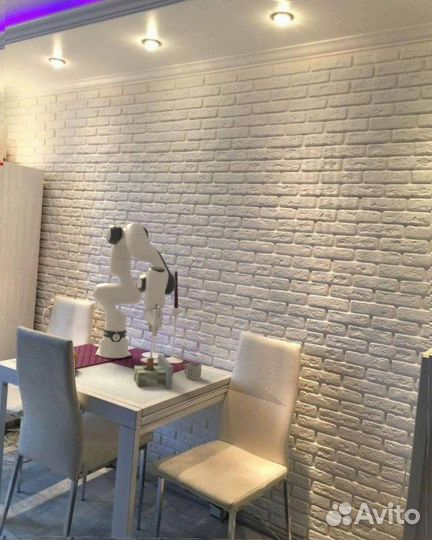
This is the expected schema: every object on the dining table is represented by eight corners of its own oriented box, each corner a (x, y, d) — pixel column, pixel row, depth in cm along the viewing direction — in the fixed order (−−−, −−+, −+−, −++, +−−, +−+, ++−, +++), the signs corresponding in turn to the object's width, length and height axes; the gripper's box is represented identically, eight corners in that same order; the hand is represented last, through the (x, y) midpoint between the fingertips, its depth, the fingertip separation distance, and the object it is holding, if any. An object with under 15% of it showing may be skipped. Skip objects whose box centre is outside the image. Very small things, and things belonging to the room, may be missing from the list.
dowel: (144, 379, 220) (146, 357, 219) (151, 379, 221) (153, 357, 220) (146, 381, 217) (147, 359, 217) (152, 380, 218) (154, 359, 217)
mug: (203, 379, 232) (204, 365, 231) (193, 381, 227) (194, 367, 226) (189, 373, 238) (190, 360, 238) (179, 375, 234) (180, 362, 233)
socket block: (133, 378, 223) (134, 365, 222) (158, 378, 226) (159, 365, 226) (137, 386, 211) (138, 373, 211) (164, 386, 215) (165, 372, 215)
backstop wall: (156, 375, 231) (158, 354, 231) (160, 375, 232) (162, 354, 231) (167, 389, 210) (168, 367, 210) (171, 389, 211) (173, 367, 211)
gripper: (166, 307, 208) (164, 338, 209) (157, 300, 227) (154, 329, 228) (152, 306, 206) (150, 338, 207) (143, 299, 225) (141, 328, 226)
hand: (152, 333), depth 218 cm, fingers open, 8 cm apart
